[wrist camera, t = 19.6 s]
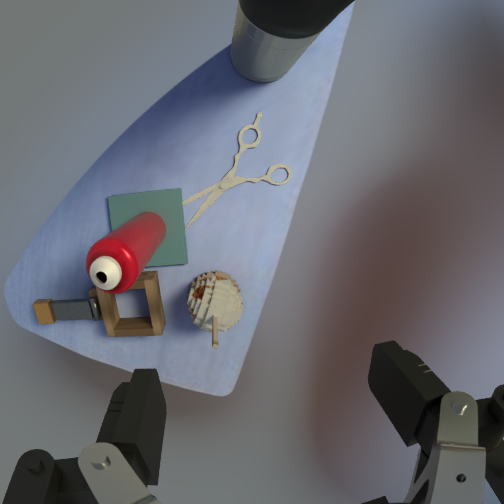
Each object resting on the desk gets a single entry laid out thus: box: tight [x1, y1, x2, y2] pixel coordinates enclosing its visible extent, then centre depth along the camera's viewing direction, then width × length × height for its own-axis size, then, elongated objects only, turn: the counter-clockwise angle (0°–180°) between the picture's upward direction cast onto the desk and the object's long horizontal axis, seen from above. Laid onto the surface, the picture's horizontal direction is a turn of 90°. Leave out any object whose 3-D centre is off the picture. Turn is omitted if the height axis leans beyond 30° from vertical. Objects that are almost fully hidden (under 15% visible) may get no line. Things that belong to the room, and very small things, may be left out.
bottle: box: [86, 212, 166, 294], centre depth 34 cm, size 6×5×20 cm
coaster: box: [108, 188, 188, 267], centre depth 44 cm, size 11×11×1 cm
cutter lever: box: [33, 297, 101, 324], centre depth 42 cm, size 12×4×2 cm, turn 93°
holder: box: [88, 271, 166, 337], centre depth 45 cm, size 9×12×4 cm
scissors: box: [182, 112, 292, 230], centre depth 44 cm, size 11×1×20 cm
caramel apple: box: [186, 271, 243, 349], centre depth 41 cm, size 8×8×15 cm
